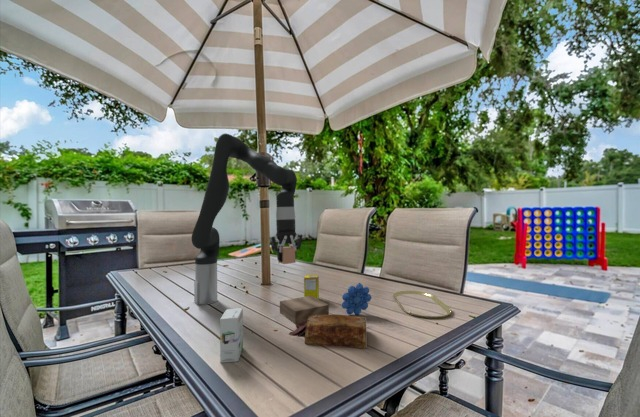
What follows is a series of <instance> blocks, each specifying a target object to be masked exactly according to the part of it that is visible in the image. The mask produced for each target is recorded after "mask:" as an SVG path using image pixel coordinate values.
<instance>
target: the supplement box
mask: <svg viewBox="0 0 640 417" xmlns="http://www.w3.org/2000/svg"><path fill="white" fill-rule="evenodd" d="M319 280H320V279H319V274H305V276H304V278H303V282H304V283H303V286H304V287H303V288H304V289H303V290H304V291H303V292H304V295H303V297H307V296H312V297H314V298H316V299H318V300H320V282H319Z"/></svg>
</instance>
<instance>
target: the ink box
mask: <svg viewBox="0 0 640 417" xmlns="http://www.w3.org/2000/svg"><path fill="white" fill-rule="evenodd" d="M243 309H244V308H243V307H242V308H241V307H239V308H227V309H225V311H224V313H223V314H222V316H221V317H220V319H219V331H220V332H219V334H220V335H219V338H220V339H219V348H220V349H219V350H220V351H219V352H220V354H219V361H220V363H223V364H224V363H237V362H239V360H240V358H241V354H242V351H243V349H244V310H243Z"/></svg>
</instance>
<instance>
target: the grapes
mask: <svg viewBox="0 0 640 417" xmlns="http://www.w3.org/2000/svg"><path fill="white" fill-rule="evenodd" d="M341 298H342V300H343V301H342V304H341V307H342V308H341V309H343V310H344V309H345V313H346V314H347V315H352V314H354V315H360V314H361V313H362V311H366V310H367V309H368V308H369V302H370V301H371V300H372V295H371V294H370V288H369V287H368V286H364V285H363V284H362V283H356V285H355V286H354V285H350V286H349V287H348V288H347V292H344V293H343V294H342V296H341Z"/></svg>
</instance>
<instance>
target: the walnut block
mask: <svg viewBox="0 0 640 417" xmlns="http://www.w3.org/2000/svg"><path fill="white" fill-rule="evenodd" d="M329 311H330V306H329V304H328V303H325V302H324V301H322V300H320V299H316V298H314V297H312V296H307V297H304V296H303V297H296V298H290V299H285V300H280V301H279V314H280V315H282V316H283V317H285V318H286V319H288V320H289V321H290V322H291V323H293V324H294V325H296V324H298V323H300V322H303V321H307V319H308V317H309V316H313V315H330V314H329V313H330V312H329Z"/></svg>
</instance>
